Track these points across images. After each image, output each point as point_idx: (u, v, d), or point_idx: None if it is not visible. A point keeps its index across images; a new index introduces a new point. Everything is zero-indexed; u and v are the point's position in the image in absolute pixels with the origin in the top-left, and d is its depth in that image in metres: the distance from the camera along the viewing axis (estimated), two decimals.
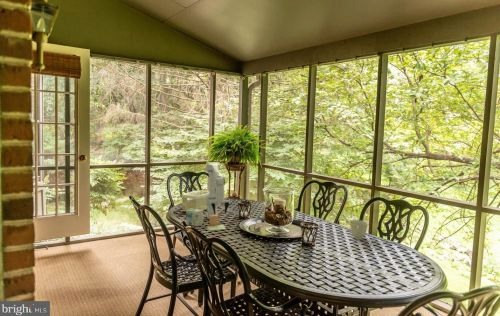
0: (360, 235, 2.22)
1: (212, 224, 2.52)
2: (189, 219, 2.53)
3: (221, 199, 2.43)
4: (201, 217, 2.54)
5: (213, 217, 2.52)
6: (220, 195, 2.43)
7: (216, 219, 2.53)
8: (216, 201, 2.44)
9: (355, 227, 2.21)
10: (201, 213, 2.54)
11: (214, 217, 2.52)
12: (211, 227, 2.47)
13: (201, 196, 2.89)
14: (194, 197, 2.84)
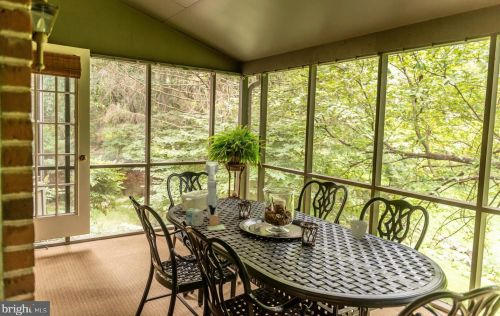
0: (360, 235, 2.22)
1: (212, 224, 2.52)
2: (189, 219, 2.53)
3: (208, 201, 2.56)
4: (201, 217, 2.54)
5: (213, 217, 2.52)
6: (208, 197, 2.57)
7: (216, 219, 2.53)
8: None
9: (355, 227, 2.21)
10: (201, 213, 2.54)
11: (214, 217, 2.52)
12: (211, 227, 2.47)
13: (200, 196, 2.89)
14: (193, 197, 2.84)
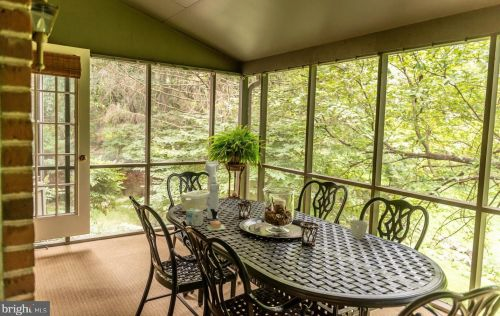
0: (360, 235, 2.22)
1: None
2: (189, 219, 2.53)
3: (210, 204, 2.49)
4: (201, 217, 2.54)
5: None
6: (210, 200, 2.50)
7: None
8: None
9: (355, 227, 2.21)
10: (201, 213, 2.54)
11: None
12: (211, 227, 2.47)
13: (200, 196, 2.89)
14: (193, 197, 2.84)
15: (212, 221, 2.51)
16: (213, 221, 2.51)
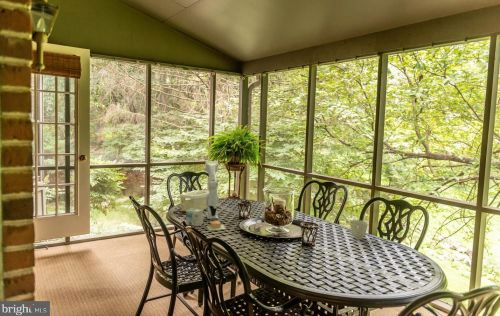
0: (360, 235, 2.22)
1: None
2: (189, 219, 2.53)
3: (209, 201, 2.53)
4: (201, 217, 2.54)
5: None
6: (209, 197, 2.53)
7: None
8: None
9: (355, 227, 2.21)
10: (201, 213, 2.54)
11: None
12: (211, 227, 2.47)
13: (199, 196, 2.90)
14: (192, 197, 2.85)
15: (212, 221, 2.51)
16: (213, 221, 2.51)
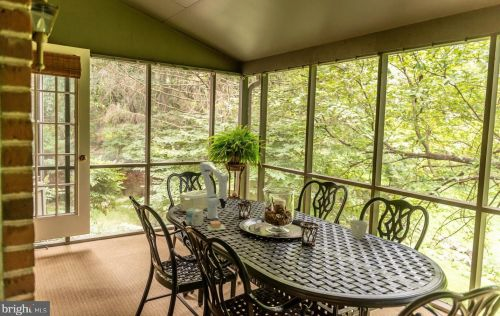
0: (360, 235, 2.22)
1: None
2: (189, 219, 2.53)
3: (219, 194, 2.58)
4: (201, 217, 2.54)
5: None
6: (219, 190, 2.58)
7: None
8: None
9: (355, 227, 2.21)
10: (201, 213, 2.54)
11: None
12: (211, 227, 2.47)
13: (199, 196, 2.90)
14: (191, 197, 2.85)
15: (212, 221, 2.51)
16: (213, 221, 2.51)
